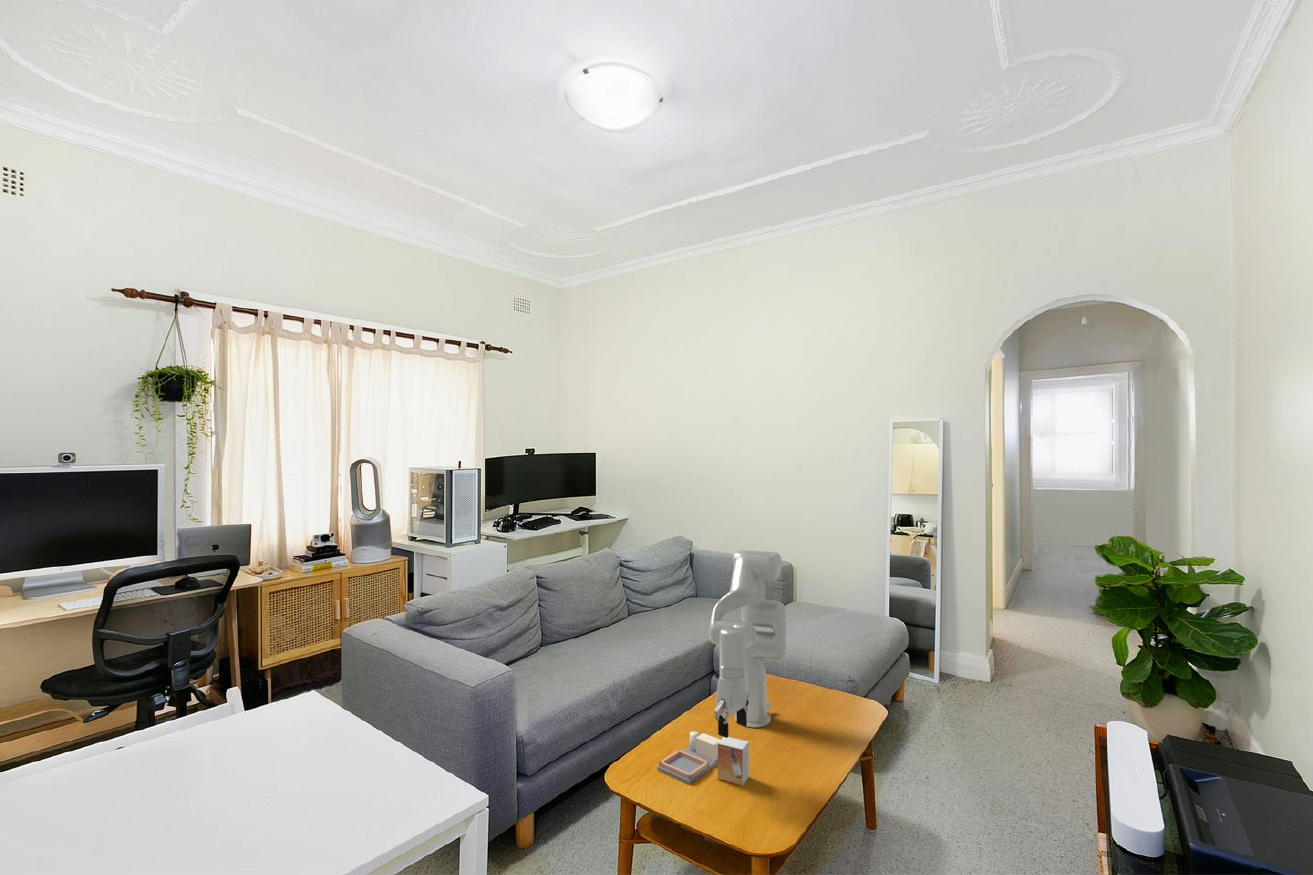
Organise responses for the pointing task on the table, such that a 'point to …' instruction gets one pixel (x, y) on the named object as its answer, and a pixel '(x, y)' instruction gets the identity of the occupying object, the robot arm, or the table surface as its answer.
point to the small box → (733, 760)
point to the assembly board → (692, 758)
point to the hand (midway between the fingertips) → (732, 730)
